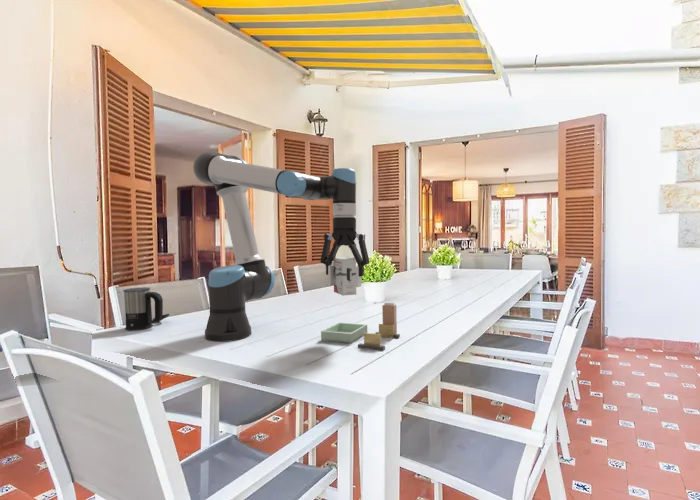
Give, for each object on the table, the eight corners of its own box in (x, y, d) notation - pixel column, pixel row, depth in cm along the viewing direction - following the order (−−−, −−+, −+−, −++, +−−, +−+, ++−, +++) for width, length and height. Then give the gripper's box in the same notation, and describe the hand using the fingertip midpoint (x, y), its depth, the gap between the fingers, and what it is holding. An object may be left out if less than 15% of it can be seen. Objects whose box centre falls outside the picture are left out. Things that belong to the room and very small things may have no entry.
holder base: (357, 347, 127) (357, 344, 127) (376, 335, 142) (376, 332, 142) (383, 350, 124) (383, 347, 124) (399, 337, 139) (399, 334, 139)
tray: (321, 340, 136) (321, 331, 136) (339, 331, 149) (339, 322, 149) (351, 343, 132) (351, 333, 132) (367, 333, 145) (367, 324, 145)
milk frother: (121, 331, 154) (119, 290, 153) (133, 322, 169) (131, 285, 168) (163, 329, 157) (162, 289, 156) (171, 320, 172) (170, 283, 171)
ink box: (333, 292, 143) (332, 256, 142) (346, 291, 145) (346, 256, 144) (342, 295, 135) (342, 258, 134) (356, 294, 137) (356, 258, 136)
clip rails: (364, 347, 128) (364, 333, 128) (379, 336, 140) (379, 323, 140) (380, 348, 126) (379, 334, 126) (394, 337, 138) (393, 325, 138)
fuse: (382, 335, 142) (382, 303, 141) (385, 333, 144) (384, 301, 144) (394, 336, 140) (393, 303, 140) (396, 334, 143) (396, 302, 142)
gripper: (309, 217, 139) (309, 285, 140) (371, 216, 130) (371, 289, 132) (319, 217, 146) (320, 282, 147) (380, 216, 137) (380, 286, 139)
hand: (344, 285), depth 140 cm, fingers closed on ink box, 9 cm apart
